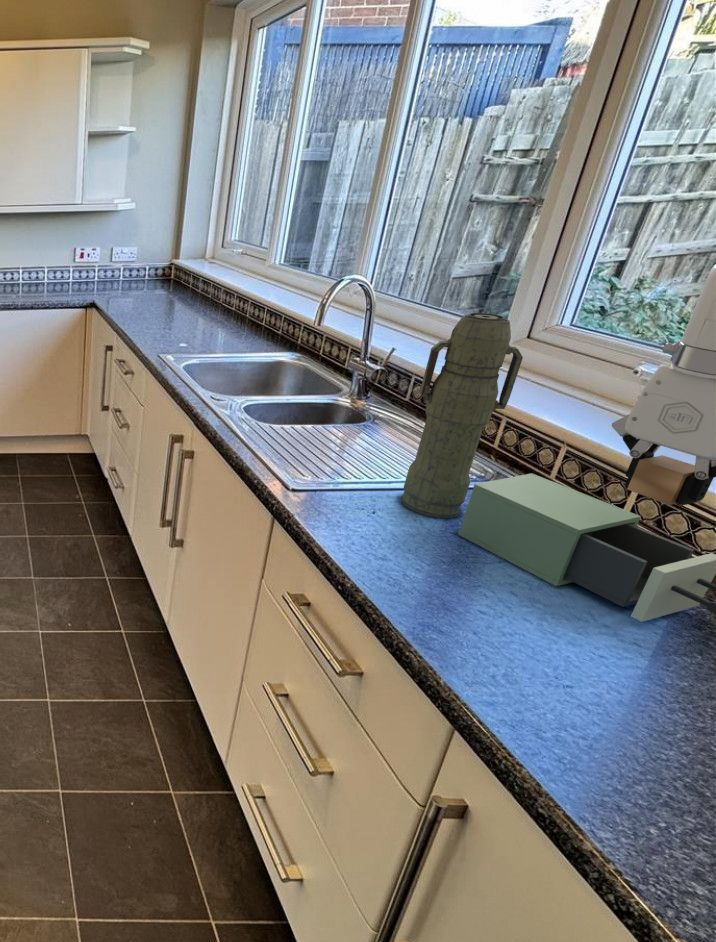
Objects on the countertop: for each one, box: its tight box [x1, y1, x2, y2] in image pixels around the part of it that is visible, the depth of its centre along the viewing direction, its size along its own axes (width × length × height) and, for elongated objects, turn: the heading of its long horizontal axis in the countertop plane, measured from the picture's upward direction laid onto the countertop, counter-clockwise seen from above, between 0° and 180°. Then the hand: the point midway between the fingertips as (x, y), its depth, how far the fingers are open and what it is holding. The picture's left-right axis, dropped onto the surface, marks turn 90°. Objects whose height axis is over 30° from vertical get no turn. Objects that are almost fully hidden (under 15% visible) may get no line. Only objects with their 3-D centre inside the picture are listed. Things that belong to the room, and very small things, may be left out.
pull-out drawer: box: [564, 523, 716, 623], centre depth 85 cm, size 18×11×8 cm, turn 16°
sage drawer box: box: [457, 472, 642, 587], centre depth 96 cm, size 15×13×10 cm
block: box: [626, 454, 695, 506], centre depth 81 cm, size 4×4×4 cm
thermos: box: [400, 312, 524, 519], centre depth 105 cm, size 9×12×35 cm
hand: (660, 492), depth 82 cm, fingers closed on block, 4 cm apart
